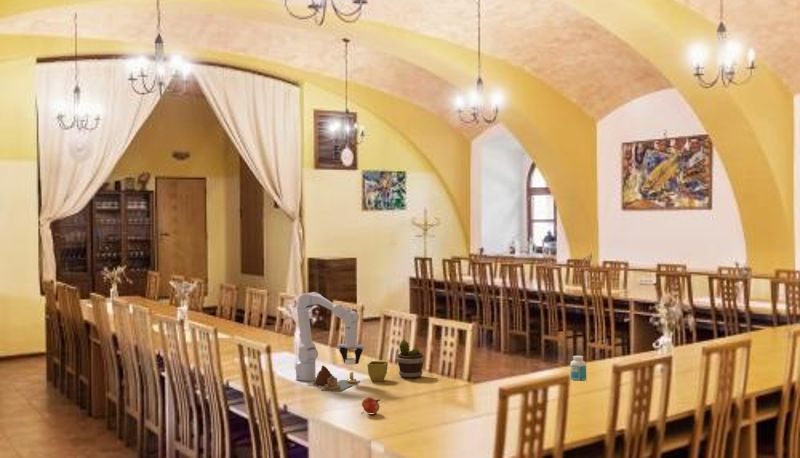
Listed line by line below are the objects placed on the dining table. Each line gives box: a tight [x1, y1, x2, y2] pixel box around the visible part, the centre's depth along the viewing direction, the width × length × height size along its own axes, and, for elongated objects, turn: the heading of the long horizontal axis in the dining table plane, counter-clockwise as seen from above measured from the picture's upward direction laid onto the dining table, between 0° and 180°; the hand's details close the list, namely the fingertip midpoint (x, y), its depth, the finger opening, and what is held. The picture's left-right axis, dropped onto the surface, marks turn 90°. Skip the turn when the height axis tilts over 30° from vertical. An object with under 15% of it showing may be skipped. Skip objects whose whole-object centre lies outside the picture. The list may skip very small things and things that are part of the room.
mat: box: [321, 379, 361, 393], centre depth 388 cm, size 10×24×1 cm, turn 161°
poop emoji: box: [314, 365, 333, 387], centre depth 393 cm, size 10×8×9 cm
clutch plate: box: [344, 357, 357, 366], centre depth 393 cm, size 6×6×2 cm
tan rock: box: [324, 375, 340, 389], centre depth 382 cm, size 7×7×6 cm
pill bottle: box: [569, 355, 587, 381], centre depth 385 cm, size 8×7×14 cm
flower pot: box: [366, 360, 389, 382], centre depth 400 cm, size 9×9×9 cm
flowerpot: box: [395, 338, 426, 380], centre depth 407 cm, size 14×15×20 cm
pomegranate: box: [360, 397, 381, 416], centre depth 330 cm, size 7×7×10 cm
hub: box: [346, 371, 357, 384], centre depth 393 cm, size 5×5×5 cm
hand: (351, 363), depth 393 cm, fingers closed on clutch plate, 6 cm apart
